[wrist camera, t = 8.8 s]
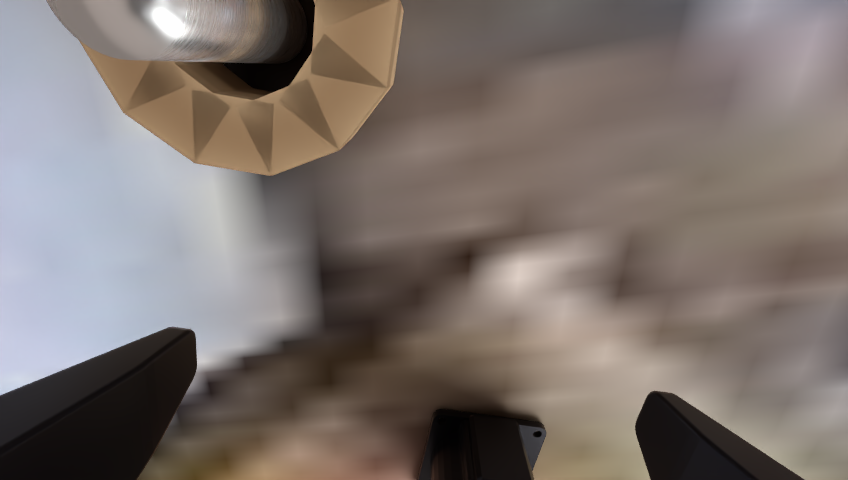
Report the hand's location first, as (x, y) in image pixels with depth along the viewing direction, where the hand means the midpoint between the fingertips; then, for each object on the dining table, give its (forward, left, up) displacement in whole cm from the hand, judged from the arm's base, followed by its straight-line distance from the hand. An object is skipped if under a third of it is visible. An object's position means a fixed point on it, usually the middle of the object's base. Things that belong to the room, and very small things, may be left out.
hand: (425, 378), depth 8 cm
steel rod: (+6, +7, -12) cm, 15 cm away
